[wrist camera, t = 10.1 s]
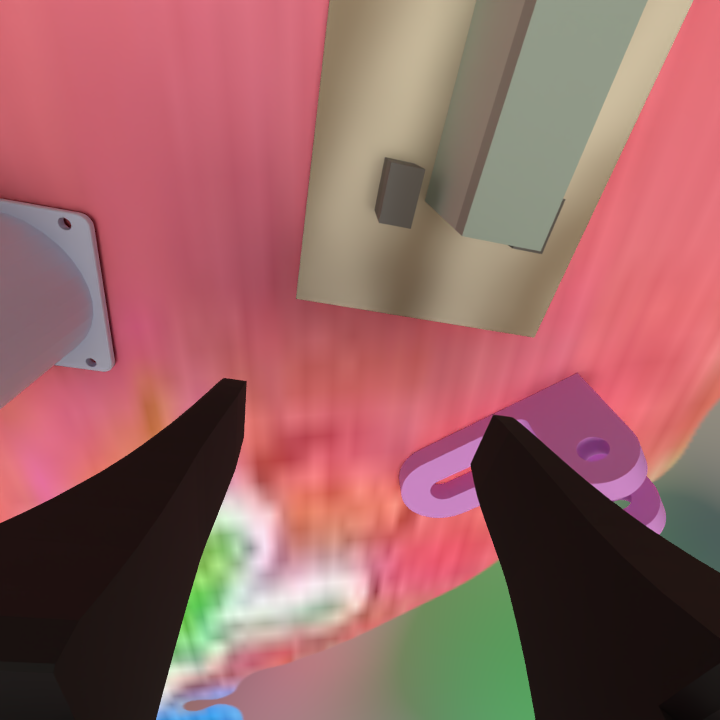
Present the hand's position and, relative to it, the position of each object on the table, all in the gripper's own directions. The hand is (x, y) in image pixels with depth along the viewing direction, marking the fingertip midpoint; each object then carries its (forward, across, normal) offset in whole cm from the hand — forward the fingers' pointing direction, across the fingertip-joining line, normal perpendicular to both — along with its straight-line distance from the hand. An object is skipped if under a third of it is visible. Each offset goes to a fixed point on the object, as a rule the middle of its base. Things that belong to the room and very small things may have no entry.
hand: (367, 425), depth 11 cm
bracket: (+10, -10, +9) cm, 17 cm away
